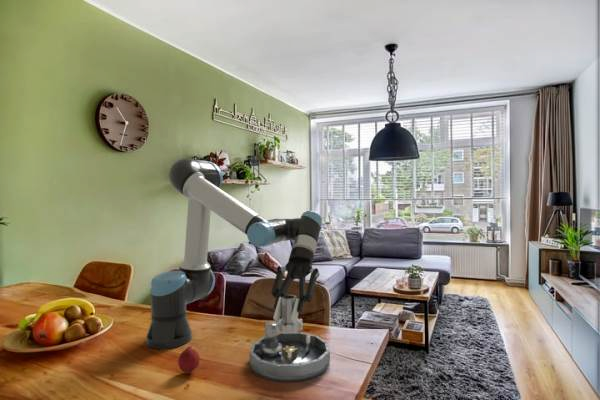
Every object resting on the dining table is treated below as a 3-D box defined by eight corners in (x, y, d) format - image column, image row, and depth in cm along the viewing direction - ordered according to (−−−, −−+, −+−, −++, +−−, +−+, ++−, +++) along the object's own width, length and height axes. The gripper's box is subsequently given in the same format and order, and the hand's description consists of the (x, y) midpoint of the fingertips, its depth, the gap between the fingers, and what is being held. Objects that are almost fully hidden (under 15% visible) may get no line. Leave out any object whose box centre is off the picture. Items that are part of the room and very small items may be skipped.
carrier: (245, 383, 97) (244, 344, 97) (255, 345, 121) (254, 315, 121) (333, 381, 98) (333, 343, 97) (325, 344, 122) (325, 314, 121)
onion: (193, 379, 100) (192, 350, 99) (174, 377, 101) (174, 349, 101) (203, 369, 105) (202, 342, 105) (185, 367, 106) (184, 340, 106)
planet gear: (275, 333, 99) (275, 300, 99) (277, 323, 106) (276, 293, 106) (302, 332, 99) (302, 300, 99) (302, 323, 107) (301, 293, 106)
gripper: (331, 260, 114) (317, 331, 99) (280, 258, 120) (260, 324, 105) (327, 246, 109) (311, 318, 94) (274, 244, 115) (251, 311, 99)
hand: (284, 321), depth 99 cm, fingers closed on planet gear, 4 cm apart
